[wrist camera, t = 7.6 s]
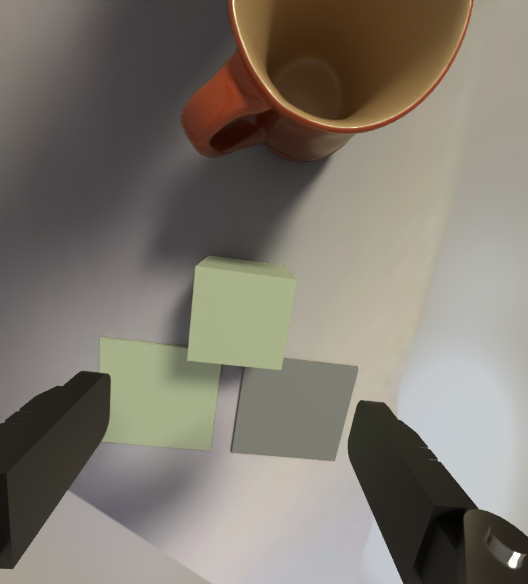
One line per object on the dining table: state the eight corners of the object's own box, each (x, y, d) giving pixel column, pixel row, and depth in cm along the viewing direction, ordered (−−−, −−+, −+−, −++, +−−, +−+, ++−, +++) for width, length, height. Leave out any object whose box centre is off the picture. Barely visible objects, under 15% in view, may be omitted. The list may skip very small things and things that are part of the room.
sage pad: (101, 337, 23) (99, 338, 22) (223, 351, 23) (222, 352, 23) (100, 438, 25) (98, 441, 25) (210, 448, 26) (210, 450, 25)
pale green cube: (209, 255, 22) (195, 266, 16) (284, 265, 22) (297, 279, 16) (202, 326, 23) (187, 360, 17) (272, 334, 24) (281, 370, 18)
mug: (324, 8, 18) (418, -256, 8) (381, 135, 20) (510, 47, 10) (174, 112, 19) (94, -10, 9) (243, 223, 21) (238, 222, 11)
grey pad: (246, 353, 24) (246, 355, 23) (357, 366, 25) (358, 368, 24) (231, 449, 26) (231, 452, 26) (333, 458, 27) (334, 460, 27)
